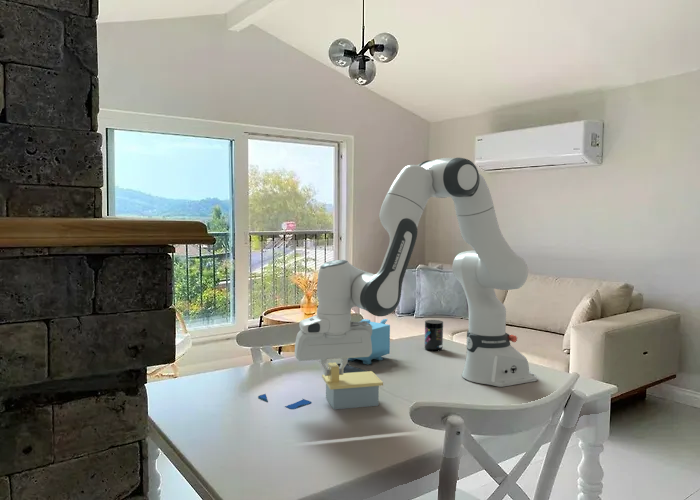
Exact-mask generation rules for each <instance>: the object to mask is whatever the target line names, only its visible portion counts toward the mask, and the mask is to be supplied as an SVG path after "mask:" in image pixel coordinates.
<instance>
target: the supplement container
mask: <svg viewBox="0 0 700 500" xmlns="http://www.w3.org/2000/svg"><path fill="white" fill-rule="evenodd" d="M443 339H444V321H443V320H439V319H427V320H426V319H425V321H424V349H425V351H429V352H440V351H442V350H443V348H444V347H443V342H444V340H443Z"/></svg>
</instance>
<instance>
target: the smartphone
mask: <svg viewBox="0 0 700 500" xmlns="http://www.w3.org/2000/svg"><path fill="white" fill-rule="evenodd" d="M257 398H258V400H262V401H264V402H266V403H269V400H268V397H267V394H266V393H264V394H260V395H258V396H257ZM311 404H312V401H311V400H307V399H305V398H302V399H301V400H299V401H296V402H293V403H291V404H288V405H285V406H284V408H285V409H286V408H287V409H289V410H296V409H298V408H301V407H305V406H308V405H311Z"/></svg>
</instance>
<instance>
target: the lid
mask: <svg viewBox="0 0 700 500" xmlns="http://www.w3.org/2000/svg"><path fill="white" fill-rule="evenodd" d="M337 364H338V363H337V362H328V363H327V366H328V367H327V368H330V369H331V372H330V373H331V375H330V376H325V375H324V374H321V378H322V380H323V381H324V383H325V385H326V384H327V385H328V387H329V388H330V390H331V389H344V388H357V387H370V386H379V387H381V386H384V381H382V380H381V379H380V378H379V377H378V375H376V373H374V372H373V370H369V371H367V370H366V371H367V372H352V373H343V375H339V366H338V365H337Z"/></svg>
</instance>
